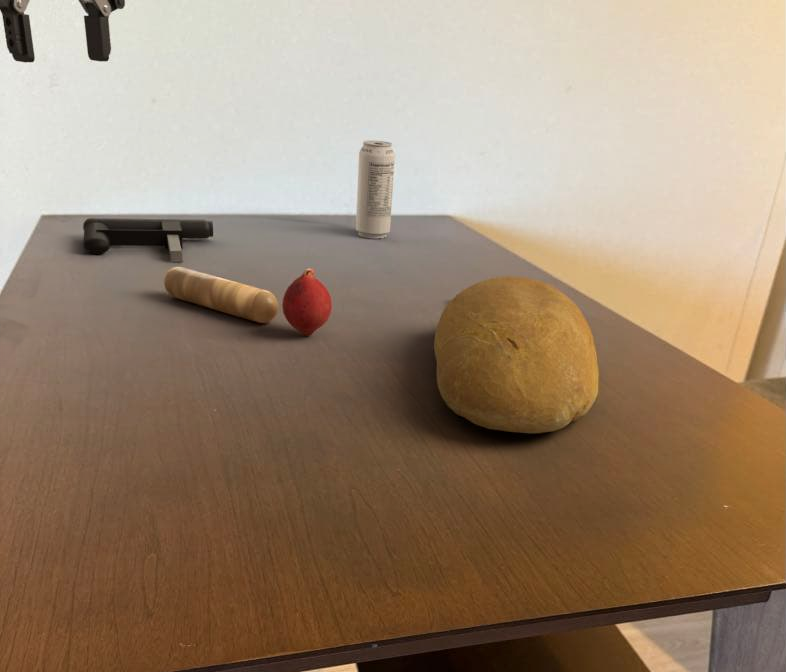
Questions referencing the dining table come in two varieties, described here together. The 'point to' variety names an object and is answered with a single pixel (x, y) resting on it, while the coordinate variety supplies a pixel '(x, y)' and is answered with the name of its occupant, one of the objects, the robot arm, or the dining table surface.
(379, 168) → the energy drink can
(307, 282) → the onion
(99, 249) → the door handle
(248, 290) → the tan rounded rod
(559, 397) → the bread
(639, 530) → the dining table surface
